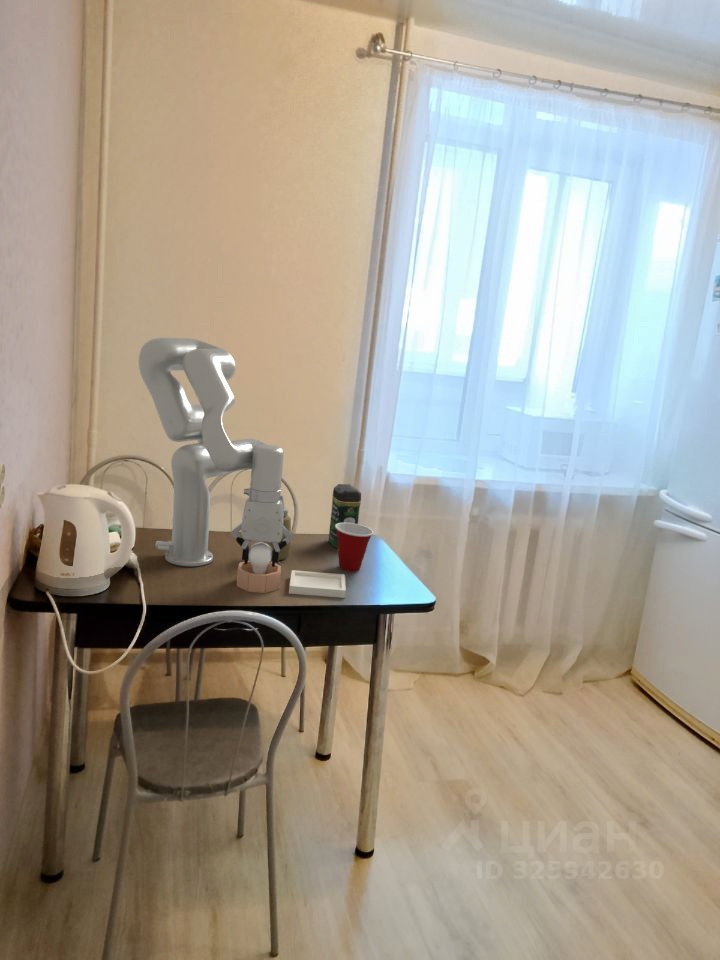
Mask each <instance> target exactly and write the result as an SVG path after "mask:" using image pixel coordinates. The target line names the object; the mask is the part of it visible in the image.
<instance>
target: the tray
mask: <svg viewBox="0 0 720 960" xmlns="http://www.w3.org/2000/svg"><path fill="white" fill-rule="evenodd" d="M288 588H289V589H288V594H290V595H291V594H293V595H305V596H315V597H316V596H318V597H330V598H342V599H345V598H346V591H347V588H346V574H344V573H329V572H319V571H307V570H306V571H304V570H296V569H294V570H291V574H290V581H289V587H288Z"/></svg>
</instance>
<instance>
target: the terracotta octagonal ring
mask: <svg viewBox="0 0 720 960" xmlns="http://www.w3.org/2000/svg"><path fill="white" fill-rule="evenodd" d="M281 574H282V566H281V565H280V564H279V563H275V567H273V566H272V561H271V563H270V564H269V565H268V567H267V569H266V572H265V573H264V574H254V572H253V568H252V565H251V563H250V562H249V560H248V563H247V564H244V561H241V562H239V564H238V567H237V571H236V586H237V587H238V588H239V589H242V590H244V591H246V592H250V593H260V594H261V593H264V594H266V593H269V592H273V591H276V590H279V588H280V583H281Z"/></svg>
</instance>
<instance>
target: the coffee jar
mask: <svg viewBox="0 0 720 960" xmlns="http://www.w3.org/2000/svg"><path fill="white" fill-rule="evenodd" d="M331 502H332V503H331V514H330V521H329V522H330V524H329V533H328V541H329V543H330V545H331V546H333V547H334V548H336V549H338V542H337V531H336V528H335V525H336V524H338V523H344V522H345V523H355V524H359V516H360V508H361V504H362V503H361V502H362V492H361V491H360V490H359V489H358V488H357V487H354V486H353V485H352V484H351V483H350V484H349V483H348V484H346V483H339V484H338V483H337V485H335V486H333V491H332V501H331Z"/></svg>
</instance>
